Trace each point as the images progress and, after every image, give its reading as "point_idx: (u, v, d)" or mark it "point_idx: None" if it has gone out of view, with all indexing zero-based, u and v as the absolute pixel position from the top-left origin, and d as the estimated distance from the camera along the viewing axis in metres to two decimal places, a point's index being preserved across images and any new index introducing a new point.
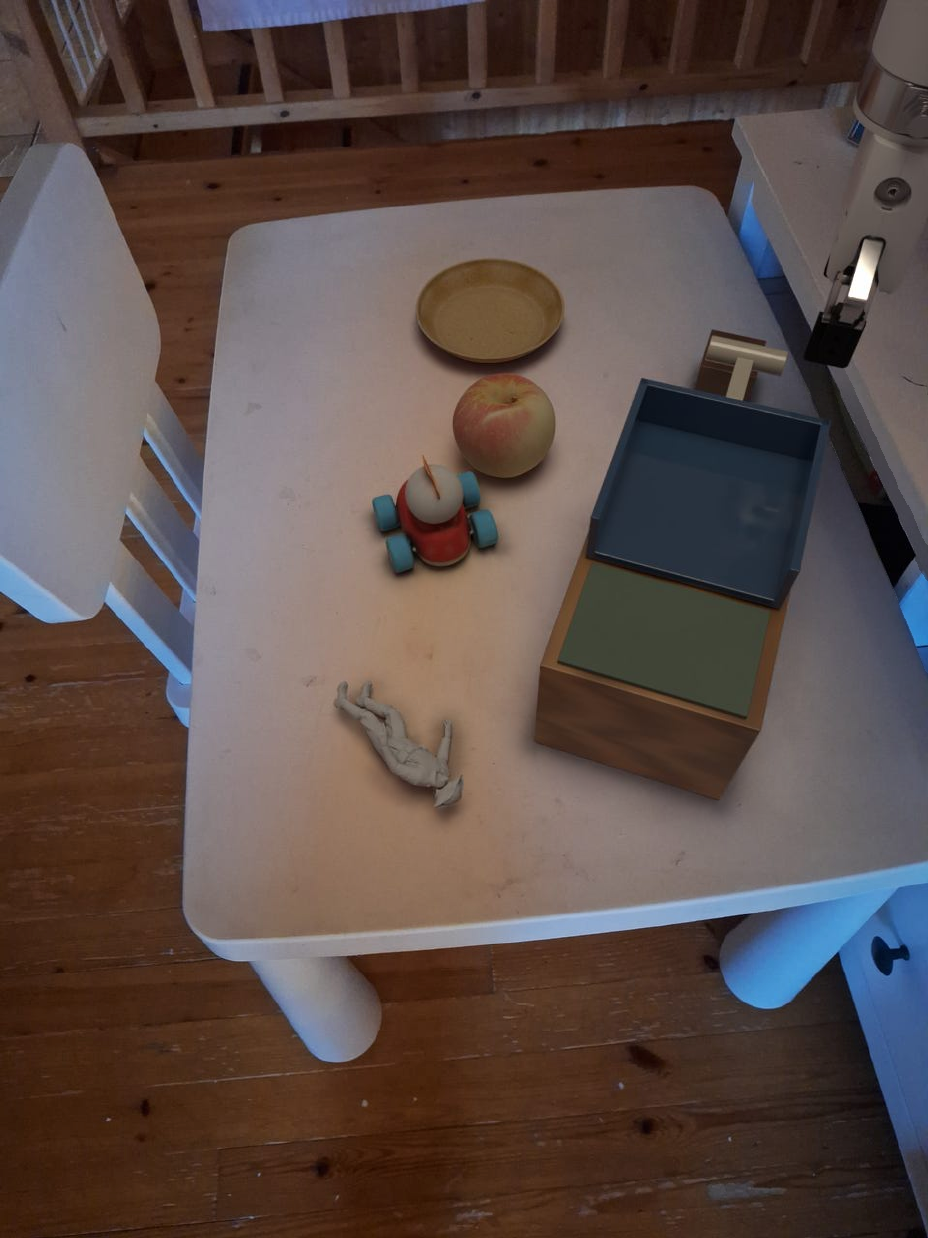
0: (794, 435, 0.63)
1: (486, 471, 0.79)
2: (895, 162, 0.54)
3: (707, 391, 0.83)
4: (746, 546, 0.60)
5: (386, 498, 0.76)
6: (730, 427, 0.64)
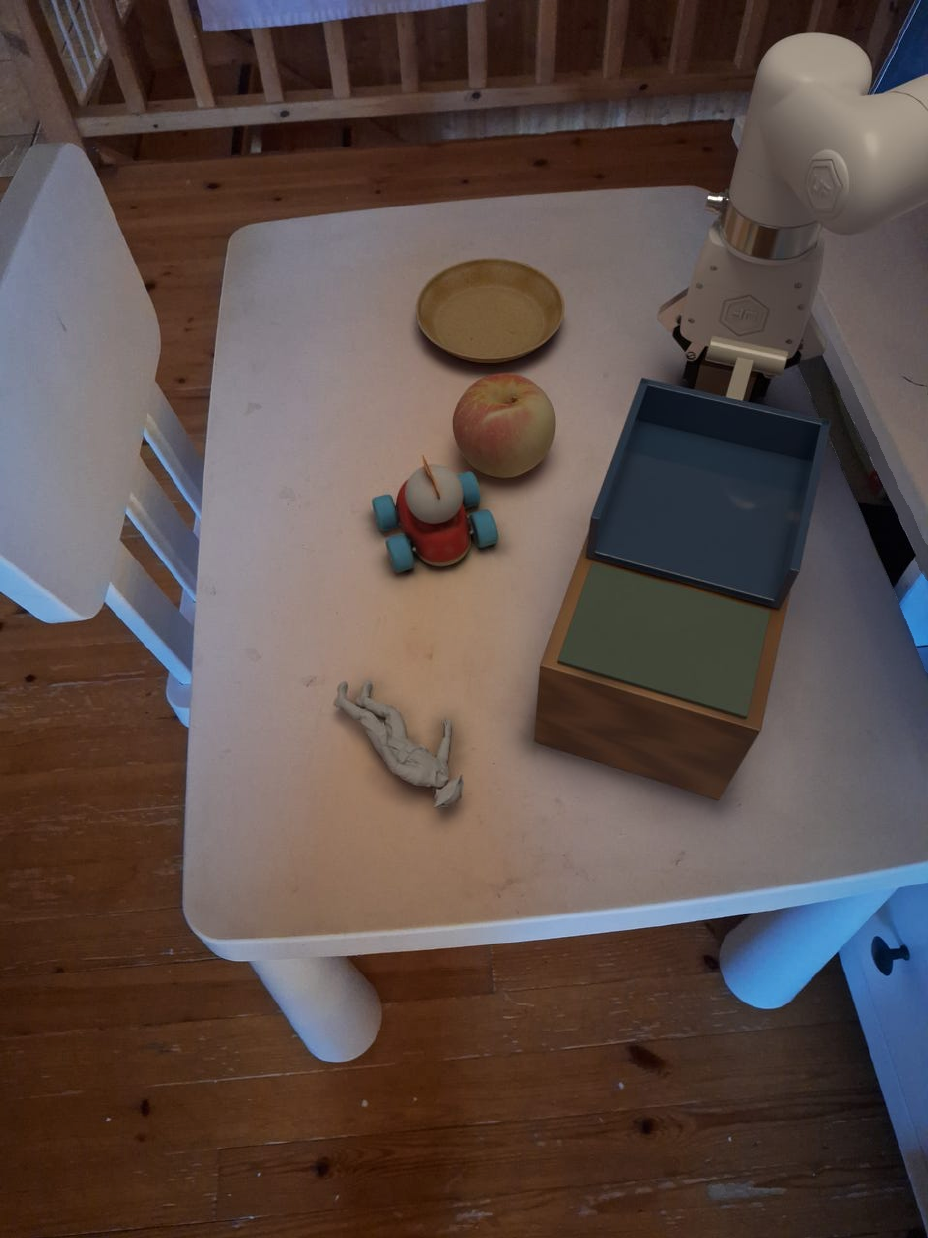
0: (794, 435, 0.63)
1: (486, 471, 0.79)
2: None
3: (707, 391, 0.83)
4: (746, 546, 0.60)
5: (386, 498, 0.76)
6: (730, 427, 0.64)
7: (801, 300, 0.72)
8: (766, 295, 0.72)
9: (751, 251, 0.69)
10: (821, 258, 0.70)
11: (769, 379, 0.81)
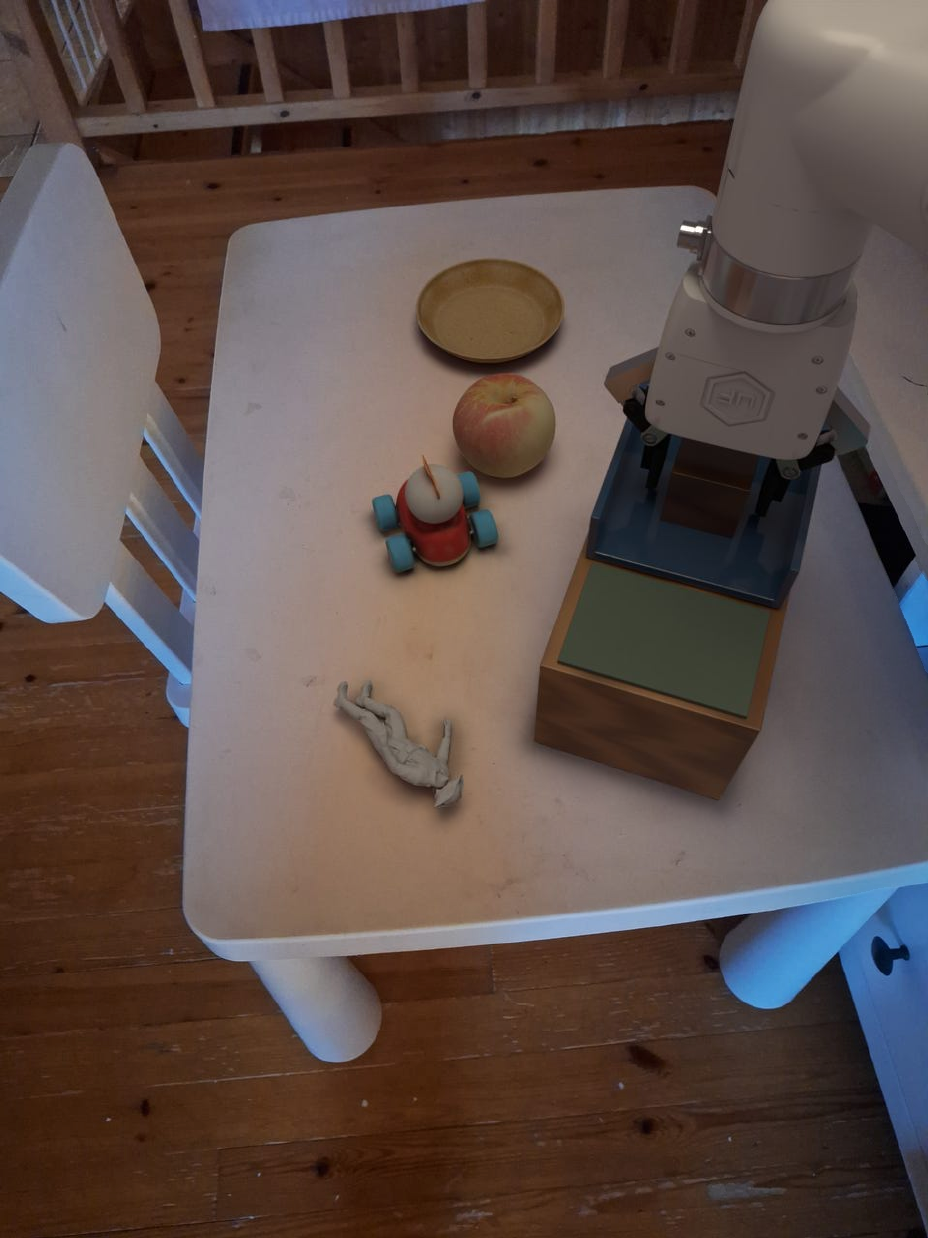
0: None
1: (486, 471, 0.79)
2: None
3: (682, 504, 0.60)
4: (746, 546, 0.60)
5: (386, 498, 0.76)
6: None
7: (822, 380, 0.48)
8: (769, 373, 0.48)
9: (746, 312, 0.45)
10: (853, 321, 0.46)
11: (788, 479, 0.57)
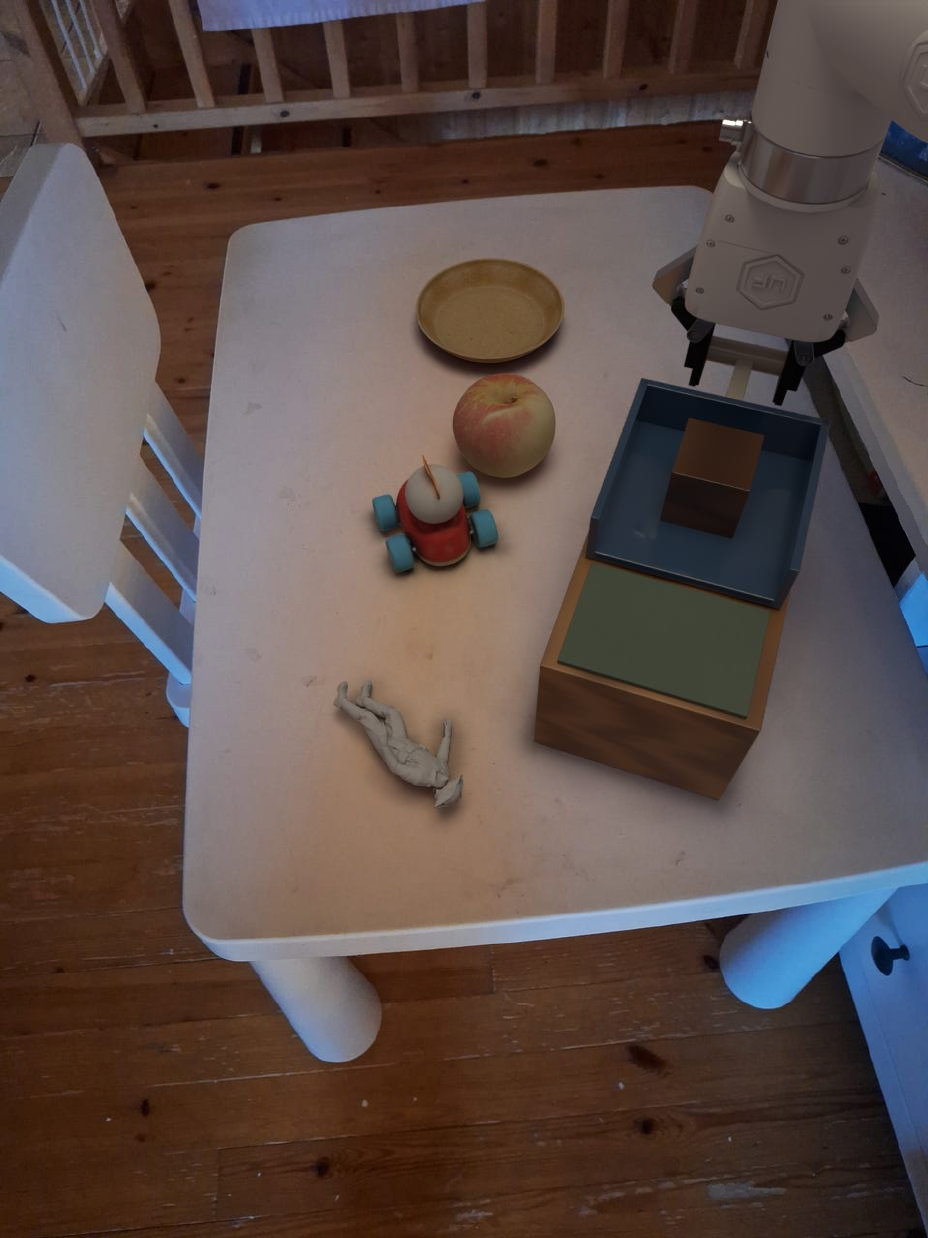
0: (794, 435, 0.63)
1: (486, 471, 0.79)
2: None
3: (682, 504, 0.60)
4: (746, 546, 0.60)
5: (386, 498, 0.76)
6: None
7: (847, 260, 0.54)
8: (799, 254, 0.55)
9: (782, 192, 0.51)
10: (875, 203, 0.52)
11: (803, 367, 0.64)
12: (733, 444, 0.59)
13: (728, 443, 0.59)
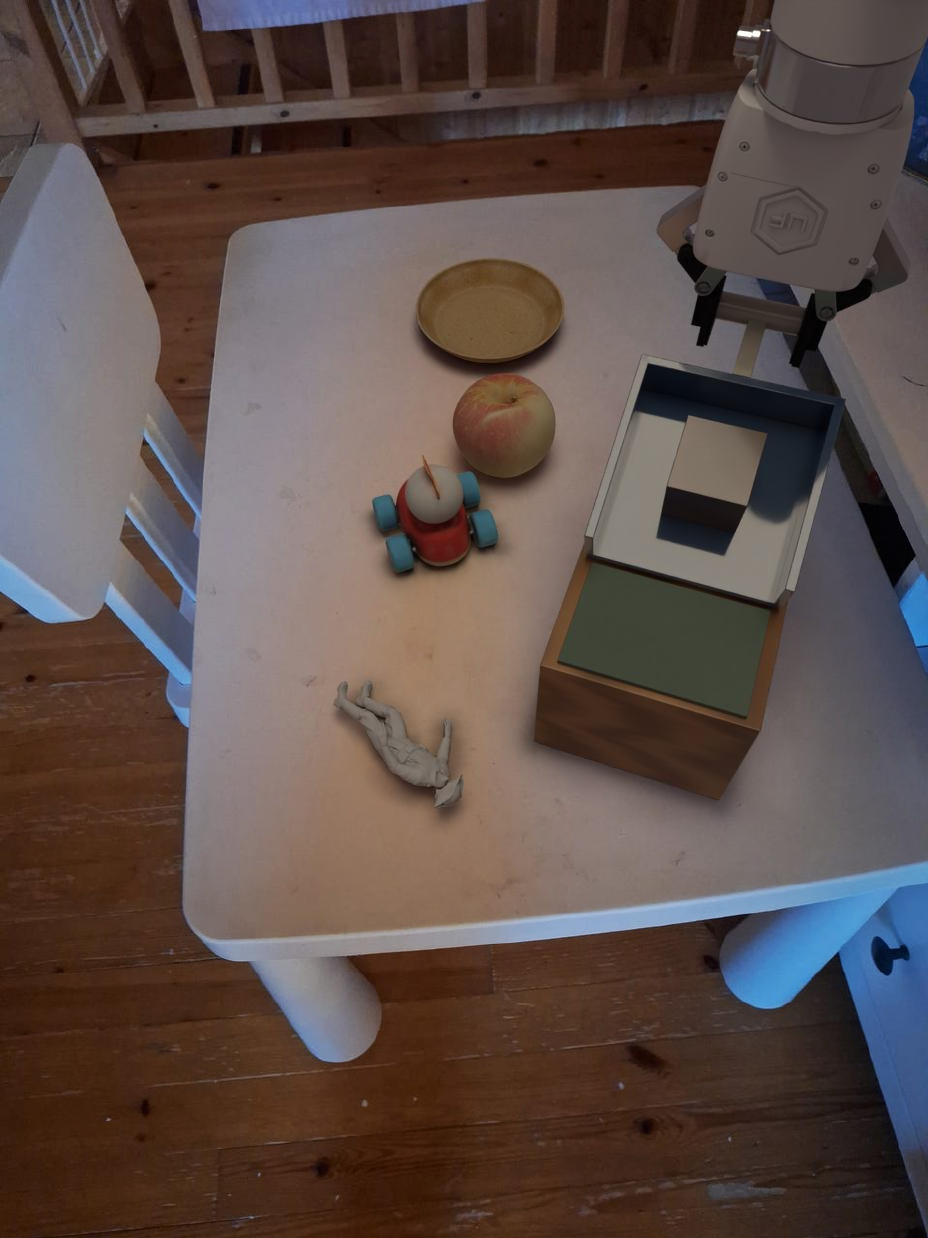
0: (807, 411, 0.59)
1: (486, 471, 0.79)
2: None
3: (681, 507, 0.58)
4: (749, 541, 0.59)
5: (386, 498, 0.76)
6: (739, 400, 0.60)
7: (877, 193, 0.48)
8: (823, 187, 0.48)
9: (805, 111, 0.45)
10: (910, 125, 0.46)
11: (824, 323, 0.57)
12: (733, 447, 0.56)
13: (727, 446, 0.56)
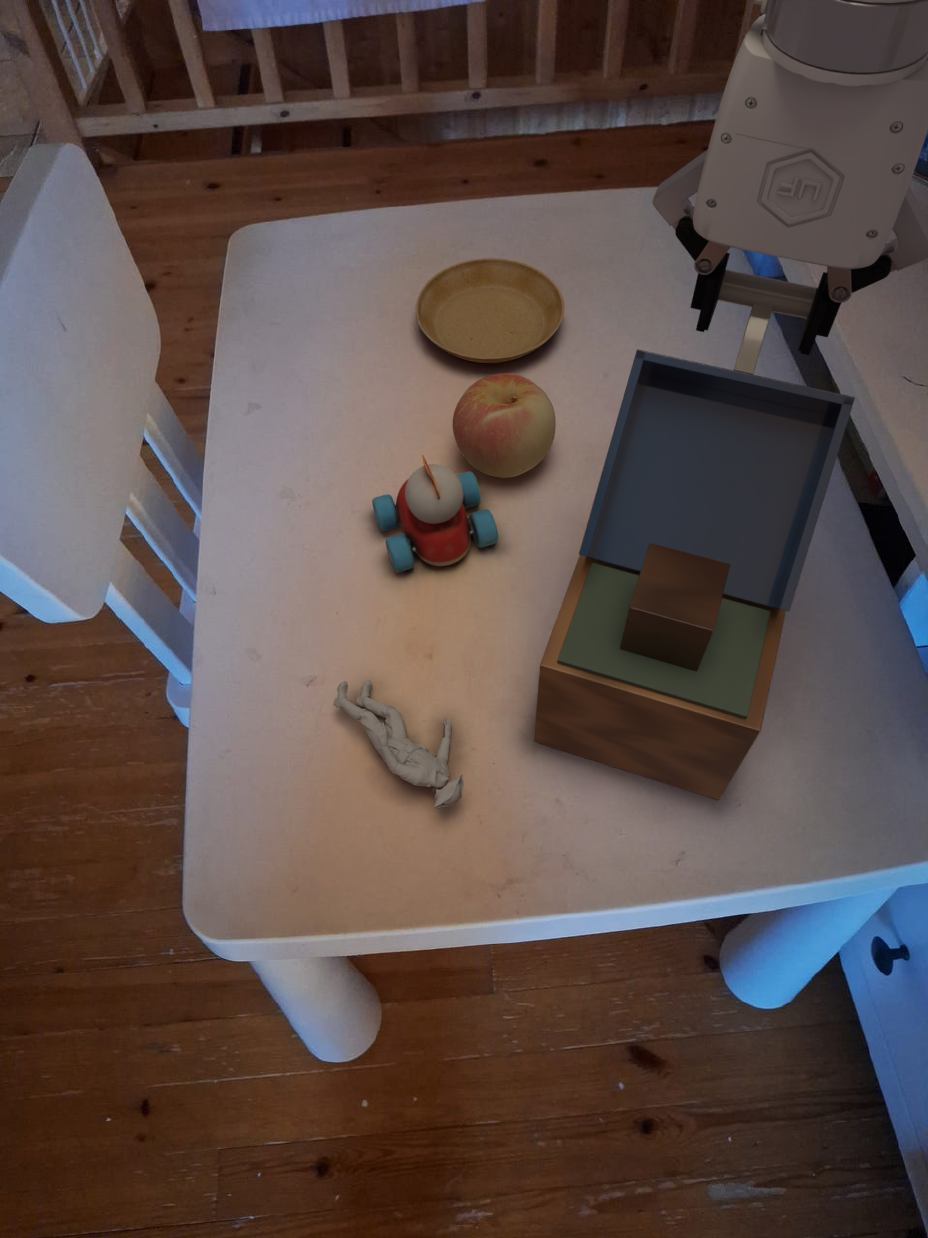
0: (814, 404, 0.55)
1: (486, 471, 0.79)
2: None
3: None
4: (750, 541, 0.58)
5: (386, 498, 0.76)
6: (743, 391, 0.57)
7: (900, 155, 0.43)
8: (839, 149, 0.43)
9: (820, 59, 0.39)
10: None
11: (837, 305, 0.52)
12: (679, 635, 0.54)
13: (673, 634, 0.54)
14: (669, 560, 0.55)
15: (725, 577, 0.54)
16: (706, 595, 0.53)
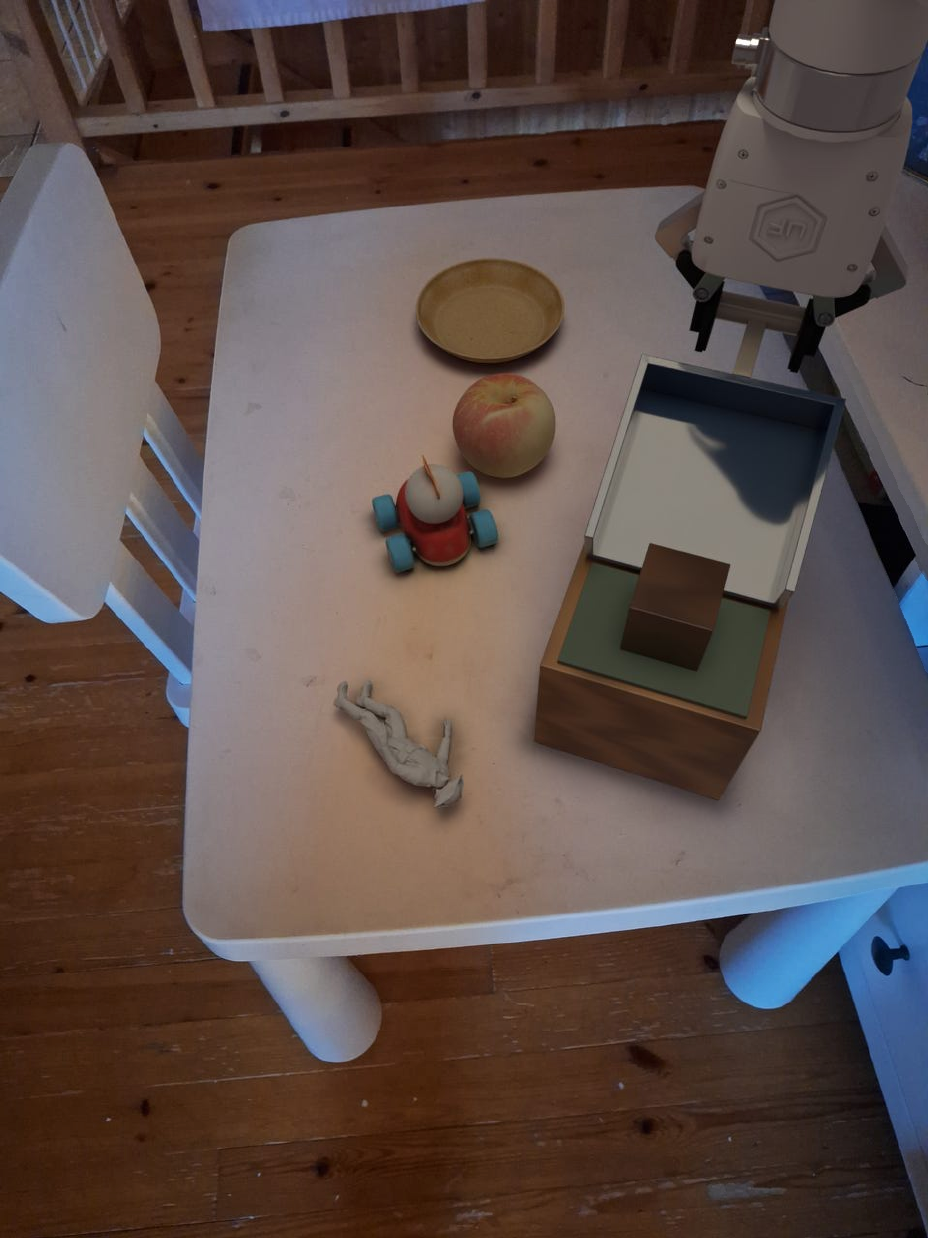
0: (807, 411, 0.59)
1: (486, 471, 0.79)
2: None
3: None
4: (749, 541, 0.59)
5: (386, 498, 0.76)
6: (739, 400, 0.60)
7: (875, 200, 0.48)
8: (822, 194, 0.48)
9: (803, 119, 0.45)
10: (908, 133, 0.46)
11: (822, 329, 0.57)
12: (679, 635, 0.54)
13: (673, 634, 0.54)
14: (669, 560, 0.55)
15: (725, 577, 0.54)
16: (706, 595, 0.53)
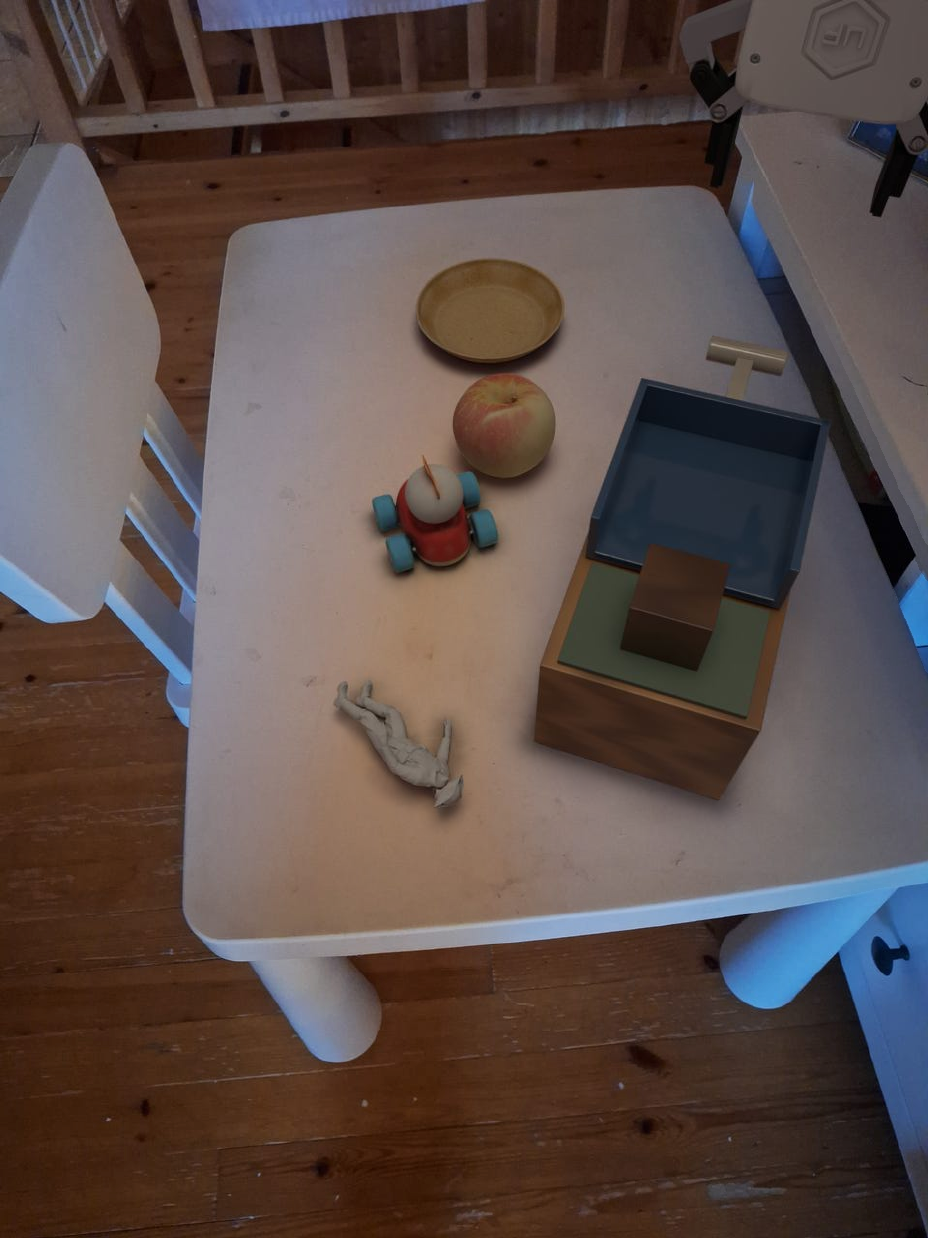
0: (794, 435, 0.63)
1: (486, 471, 0.79)
2: None
3: None
4: (746, 546, 0.60)
5: (386, 498, 0.76)
6: (730, 427, 0.64)
7: None
8: None
9: None
10: None
11: (913, 159, 0.51)
12: (679, 635, 0.54)
13: (673, 634, 0.54)
14: (669, 560, 0.55)
15: (725, 577, 0.54)
16: (706, 595, 0.53)
